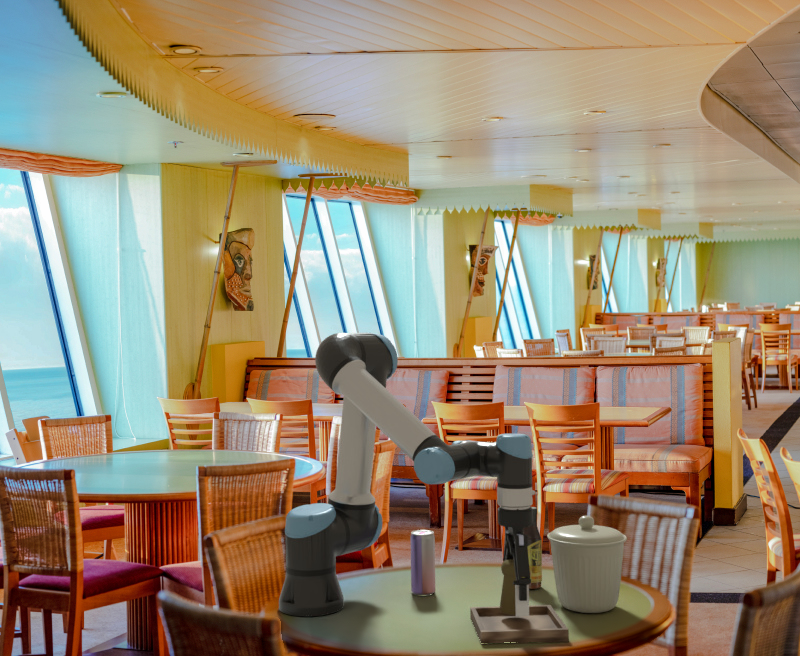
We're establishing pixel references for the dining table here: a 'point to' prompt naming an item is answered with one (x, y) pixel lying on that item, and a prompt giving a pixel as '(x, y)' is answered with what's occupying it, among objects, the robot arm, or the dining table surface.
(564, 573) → the canister
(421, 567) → the beverage can
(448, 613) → the dining table surface
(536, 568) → the sauce bottle
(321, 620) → the dining table surface
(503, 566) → the brown tapered upright piece
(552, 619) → the tray
